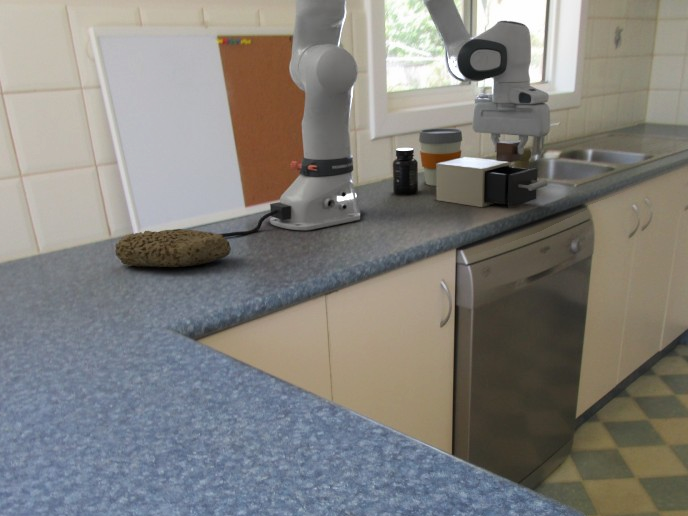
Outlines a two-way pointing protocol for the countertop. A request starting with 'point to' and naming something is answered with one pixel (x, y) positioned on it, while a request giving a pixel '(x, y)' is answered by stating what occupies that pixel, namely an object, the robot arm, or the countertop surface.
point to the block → (507, 151)
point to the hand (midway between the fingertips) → (509, 153)
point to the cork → (523, 159)
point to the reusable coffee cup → (438, 149)
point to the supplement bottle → (405, 172)
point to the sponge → (171, 248)
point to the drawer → (511, 185)
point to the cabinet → (464, 180)
